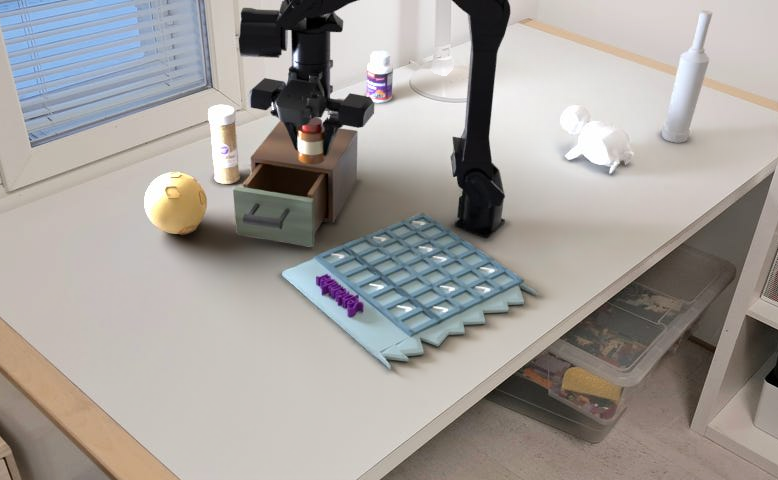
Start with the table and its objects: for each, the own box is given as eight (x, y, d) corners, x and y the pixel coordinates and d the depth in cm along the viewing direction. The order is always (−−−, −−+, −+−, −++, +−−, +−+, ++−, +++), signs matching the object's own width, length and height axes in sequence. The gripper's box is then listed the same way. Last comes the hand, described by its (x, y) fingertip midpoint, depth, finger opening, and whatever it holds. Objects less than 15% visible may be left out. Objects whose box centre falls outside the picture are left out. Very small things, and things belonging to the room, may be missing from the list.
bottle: (691, 143, 172) (725, 17, 157) (664, 142, 172) (696, 16, 157) (683, 131, 176) (716, 7, 161) (658, 131, 176) (688, 7, 161)
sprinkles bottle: (217, 186, 155) (210, 116, 147) (212, 174, 158) (206, 105, 150) (242, 183, 156) (237, 113, 148) (237, 171, 160) (232, 102, 151)
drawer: (302, 264, 135) (301, 218, 130) (224, 250, 138) (220, 205, 132) (337, 205, 149) (337, 161, 144) (266, 193, 152) (263, 150, 147)
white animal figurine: (622, 173, 168) (567, 122, 173) (645, 141, 162) (587, 89, 166) (597, 188, 163) (541, 135, 168) (620, 156, 157) (561, 102, 161)
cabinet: (333, 223, 146) (332, 170, 140) (253, 210, 149) (250, 157, 143) (356, 181, 157) (357, 130, 151) (282, 170, 160) (280, 119, 154)
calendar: (538, 297, 131) (541, 285, 130) (391, 371, 117) (392, 358, 116) (422, 219, 148) (423, 207, 146) (282, 276, 134) (281, 263, 133)
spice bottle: (319, 149, 142) (319, 112, 138) (330, 161, 139) (330, 124, 135) (293, 154, 140) (292, 117, 136) (304, 166, 137) (303, 129, 133)
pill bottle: (362, 100, 185) (363, 56, 179) (372, 90, 189) (373, 47, 183) (386, 105, 183) (387, 60, 177) (395, 95, 187) (397, 51, 181)
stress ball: (155, 250, 139) (146, 195, 133) (143, 219, 146) (135, 166, 140) (216, 238, 142) (211, 184, 136) (202, 208, 149) (196, 156, 143)
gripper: (229, 67, 126) (236, 164, 135) (351, 89, 121) (349, 187, 131) (262, 41, 134) (266, 133, 144) (377, 60, 129) (373, 154, 139)
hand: (311, 152), depth 139 cm, fingers closed on spice bottle, 4 cm apart
